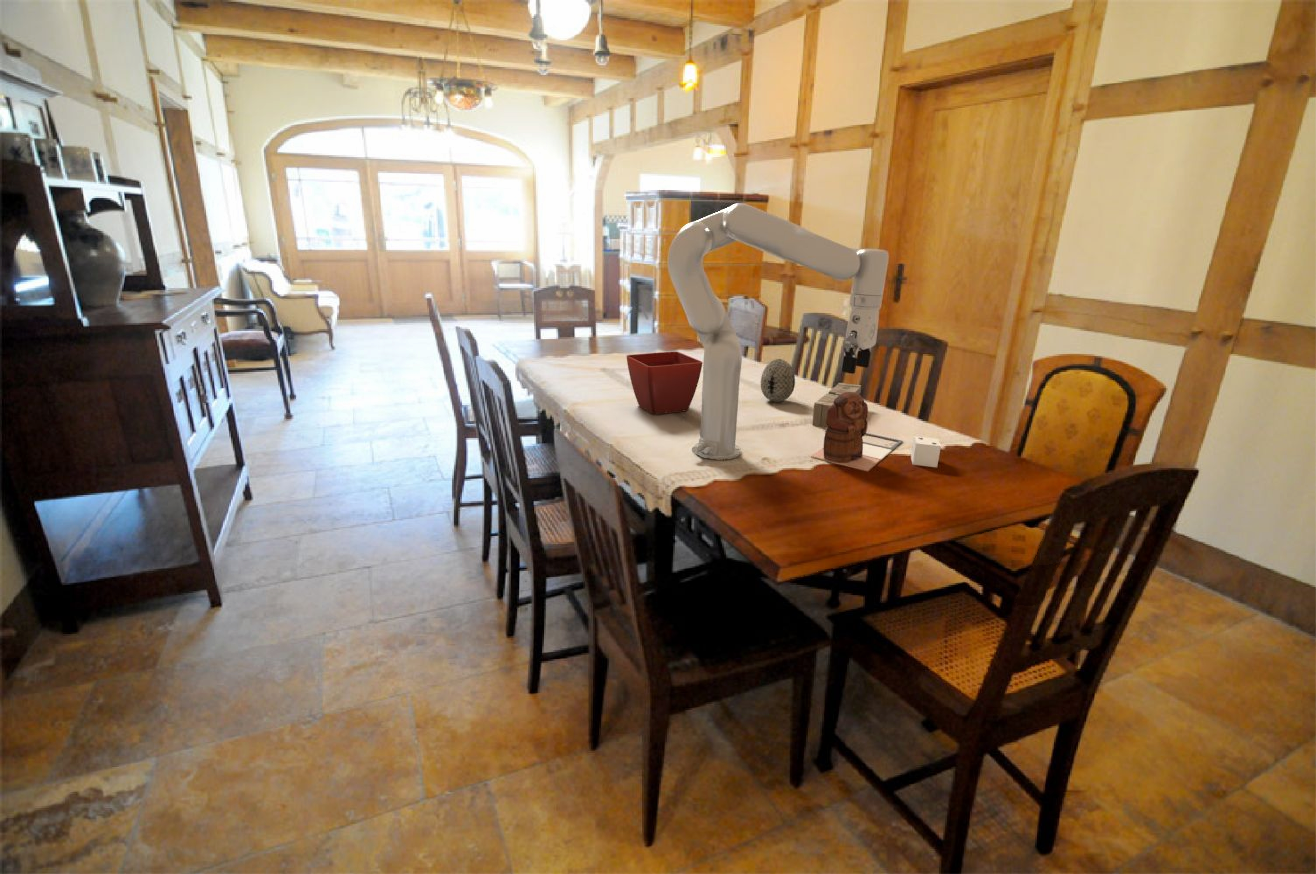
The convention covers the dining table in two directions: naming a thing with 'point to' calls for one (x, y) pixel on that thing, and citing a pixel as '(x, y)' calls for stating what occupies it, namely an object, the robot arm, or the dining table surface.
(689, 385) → the plant pot
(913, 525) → the dining table surface
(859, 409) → the wooden figurine
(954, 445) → the dining table surface
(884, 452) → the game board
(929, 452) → the die
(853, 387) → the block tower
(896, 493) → the dining table surface
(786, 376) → the decorative egg
